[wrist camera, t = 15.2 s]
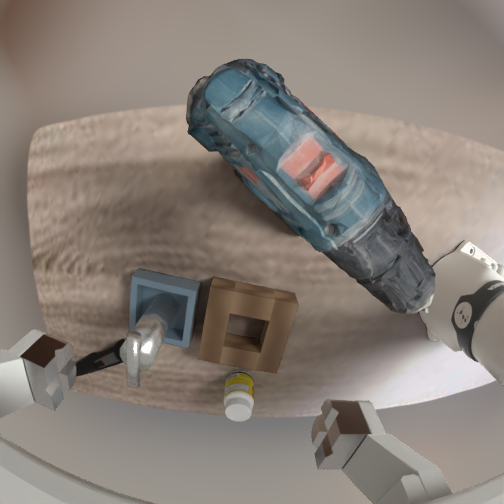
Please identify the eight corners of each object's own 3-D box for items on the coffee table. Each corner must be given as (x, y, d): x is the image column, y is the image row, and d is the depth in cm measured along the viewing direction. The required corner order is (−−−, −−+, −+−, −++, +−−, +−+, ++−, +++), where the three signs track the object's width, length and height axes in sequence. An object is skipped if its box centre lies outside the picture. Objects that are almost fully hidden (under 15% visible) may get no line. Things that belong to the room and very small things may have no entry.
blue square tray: (200, 282, 44) (196, 291, 40) (192, 336, 46) (188, 348, 43) (139, 268, 43) (131, 276, 40) (136, 322, 46) (128, 333, 42)
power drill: (326, 264, 43) (398, 366, 19) (208, 149, 39) (143, 119, 15) (368, 222, 41) (481, 282, 17) (254, 104, 37) (255, 15, 13)
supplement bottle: (249, 392, 49) (249, 426, 41) (223, 386, 49) (218, 419, 41) (257, 372, 48) (257, 406, 40) (230, 366, 48) (226, 399, 39)
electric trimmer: (73, 358, 49) (66, 367, 46) (126, 335, 47) (119, 345, 44) (84, 373, 50) (78, 382, 47) (138, 353, 48) (132, 363, 44)
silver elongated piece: (180, 287, 43) (149, 343, 28) (175, 327, 45) (148, 392, 30) (155, 281, 43) (113, 334, 28) (151, 321, 45) (115, 382, 30)
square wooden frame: (294, 292, 44) (298, 304, 40) (275, 358, 47) (276, 373, 43) (213, 276, 43) (210, 286, 40) (202, 345, 46) (198, 359, 43)
